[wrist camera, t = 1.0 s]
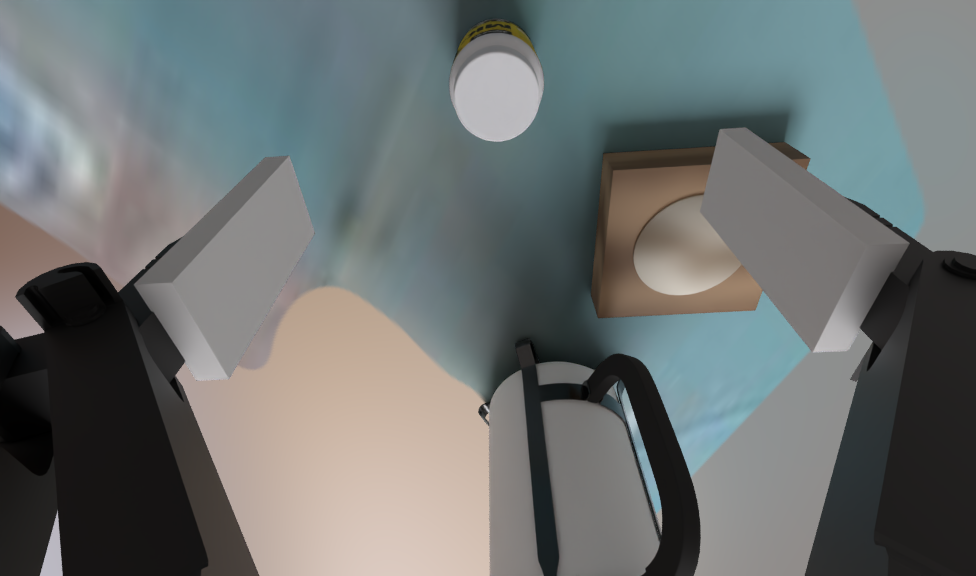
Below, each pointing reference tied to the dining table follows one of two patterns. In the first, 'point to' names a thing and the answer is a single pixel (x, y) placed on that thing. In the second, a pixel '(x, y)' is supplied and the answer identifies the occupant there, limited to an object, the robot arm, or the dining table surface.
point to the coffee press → (585, 474)
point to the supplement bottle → (496, 80)
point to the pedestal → (665, 238)
